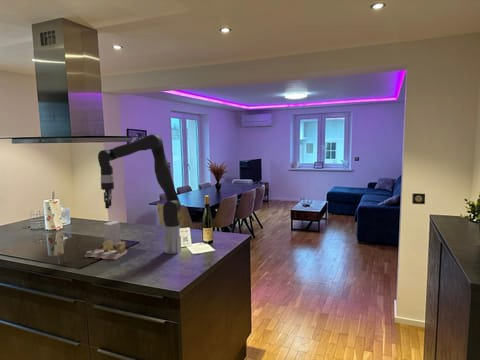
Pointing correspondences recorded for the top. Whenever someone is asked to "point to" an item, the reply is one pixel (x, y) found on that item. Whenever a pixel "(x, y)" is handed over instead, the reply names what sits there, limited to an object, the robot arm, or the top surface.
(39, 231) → the top surface
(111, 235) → the skincare box
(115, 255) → the gauge board
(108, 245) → the slider leg
